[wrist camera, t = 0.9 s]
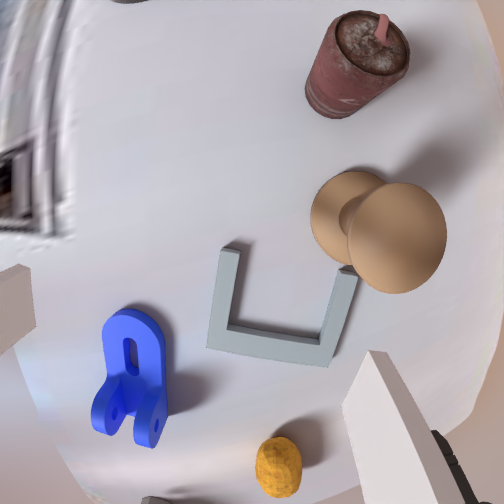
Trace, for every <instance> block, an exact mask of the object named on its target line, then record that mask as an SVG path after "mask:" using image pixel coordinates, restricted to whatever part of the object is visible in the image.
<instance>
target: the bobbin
mask: <svg viewBox="0 0 504 504" xmlns="http://www.w3.org/2000/svg"><path fill="white" fill-rule="evenodd" d="M311 227H312V231H313V234H314V237H315V239H316V241H317V242H318V244H319V245H320V247H321V248H322V249H323V251H324V252H325V253H326V254H327V255H329V256H330V257H331V258H333V259H334V260H336V261H338V262H340V263H343V264H347V265H353V267H354V269H355V270H356V272H357V273H358V274H359V275H360V276H361V278H362V279H363V280H364V281H365V282H366V283H367V284H368V285H370V286H371V287H373V288H374V289H376V290H378V291H381V292H384V293H389V294H400V293H406V292H409V291H412V290H414V289H416V288H418V287H419V286H421V285H422V284H423V283H425V282H426V281H427V280H428V279H429V278H430V277H431V276H432V275H433V273H434V272H435V271H436V269H437V268H438V266H439V264H440V262H441V260H442V258H443V255H444V252H445V247H446V241H447V228H446V222H445V218H444V215H443V212H442V210H441V208H440V206H439V204H438V203H437V201H436V200H435V199H434V198H433V197H432V195H431V194H429V193H428V192H427V191H426V190H424V189H422V188H421V187H418V186H416V185H412V184H407V183H389V184H386V183H385V182H384V181H383V180H382V179H380V178H379V177H377V176H375V175H373V174H370V173H367V172H359V171H355V172H346V173H342V174H339V175H337V176H335V177H333V178H331V179H330V180H329V181H327V182H326V183H325V184H324V185H323V186H322V187H321V189H320V190H319V191H318V193H317V195H316V197H315V199H314V201H313V205H312V208H311Z"/></svg>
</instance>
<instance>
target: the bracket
mask: <svg viewBox="0 0 504 504" xmlns="http://www.w3.org/2000/svg"><path fill="white" fill-rule="evenodd" d="M129 338H131V339H133V340H134V341H135V342H136V344H137V349H138V362H139V368H136V367H134V366H133V365H132V363H131V359H130V348H129ZM102 340H103V348H104V355H105V361H106V368H107V378H106V381H105V383H104V384H103V386H102V387H101V388H100V390H99V391H98V393H97V394H96V396H95V398H94V401H93V404H92V409H91V422H92V426H93V428H94V429H95V430H96V431H98V432H101V433H104V434H107V435H110V436H112V435H114V434H115V433H116V432H117V431H118V429H119V427H120V426H121V424H122V422H123V420H124V418H125V416H126V415H130V416H134V417H135V420H134V427H133V436H134V441H135V443H136V444H138V445H141V446H145V447H148V448H152V449H153V448H154V447H155V446H156V445H157V443H158V441H159V438H160V435H161V433H162V430H163V428H164V425H165V423H166V420H167V418H168V409H167V392H166V369H165V340H164V336H163V333H162V331H161V329H160V328H159V326H158V325H157V323H156V322H155V321H154V320H153V319H152V318H150V317H149V316H148V315H146V314H145V313H143V312H141V311H138V310H134V309H123V310H120V311H118V312H116V313H115V314H114V315H113V316H111V317H110V318H109V319H108V320H107V321H106V323H105V324H104V326H103V330H102Z"/></svg>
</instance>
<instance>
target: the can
mask: <svg viewBox="0 0 504 504" xmlns="http://www.w3.org/2000/svg"><path fill="white" fill-rule="evenodd" d="M409 60H410V49H409V45H408V41H407V40H406V38H405V36H404V35H403V33H402V31H401V30H400V29H399V28H398V27H397V26H396V25H395V24H394V23H393V22H391V21H390V20H389V18H388V16H386V15H385V14H380V15H379V14H377V13H374V12H371V11H363V10H358V11H351V12H348V13H347V14H343V15H341V16H339V17H338V18H336V19H334V21H333V22H332V23H331V25H330V26H329V27H328V29H327V32H326V34H325V37H324V39H323V42H322V44H321V46H320V49H319V51H318V54H317V56H316V59H315V61H314V64H313V66H312V68H311V71H310V73H309V76H308V78H307V81H306V85H305V94H306V98H307V100H308V102H309V104H310V106H311V107H312V108H313V109H314V110H315V111H316V112H318V113H319V114H321V115H322V116H324V117H328V118H331V119H342V118H345V117H349V116H350V115H351V114H353V113H354V112H355V111H357V110H358V109H360V108H361V107H362V106H364V105H365V104H366V103H368V102H369V101H371V100H372V99H373V98H375V97H376V96H377V95H379V94H380V93H382V92H383V91H384V90H386V89H387V88H389V87H390V86H391V85H393V84H394V83H396V82H397V81H398V80H400V79H401V78H403V77H404V75H405V73H406V71H407V70H408V67H409Z"/></svg>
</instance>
